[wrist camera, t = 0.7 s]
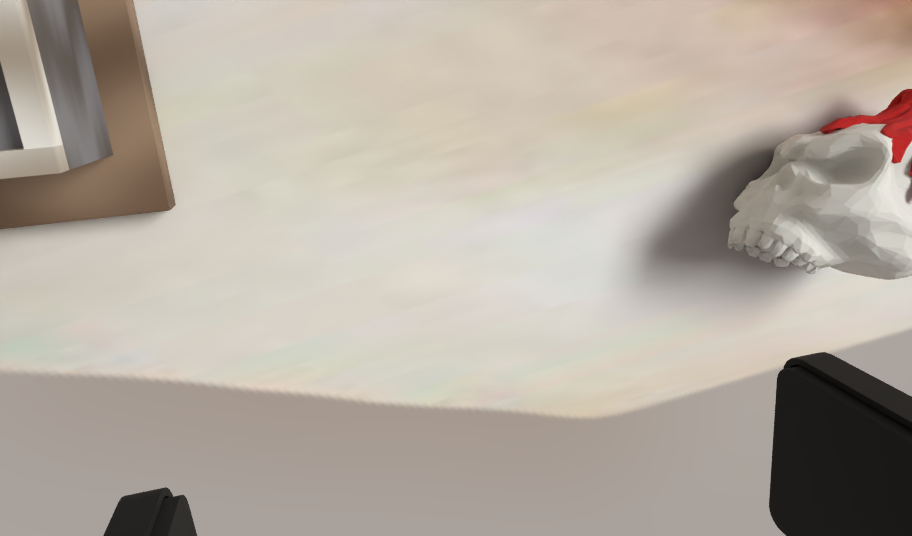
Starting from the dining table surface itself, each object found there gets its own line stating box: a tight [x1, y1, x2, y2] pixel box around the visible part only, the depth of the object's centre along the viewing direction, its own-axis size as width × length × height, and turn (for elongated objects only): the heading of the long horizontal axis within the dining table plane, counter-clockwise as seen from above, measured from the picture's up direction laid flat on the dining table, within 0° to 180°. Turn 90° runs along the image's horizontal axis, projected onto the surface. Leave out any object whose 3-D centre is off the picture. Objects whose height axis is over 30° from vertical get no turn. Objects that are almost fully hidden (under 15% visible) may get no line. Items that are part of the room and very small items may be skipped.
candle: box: [728, 89, 912, 280], centre depth 38 cm, size 9×11×15 cm
